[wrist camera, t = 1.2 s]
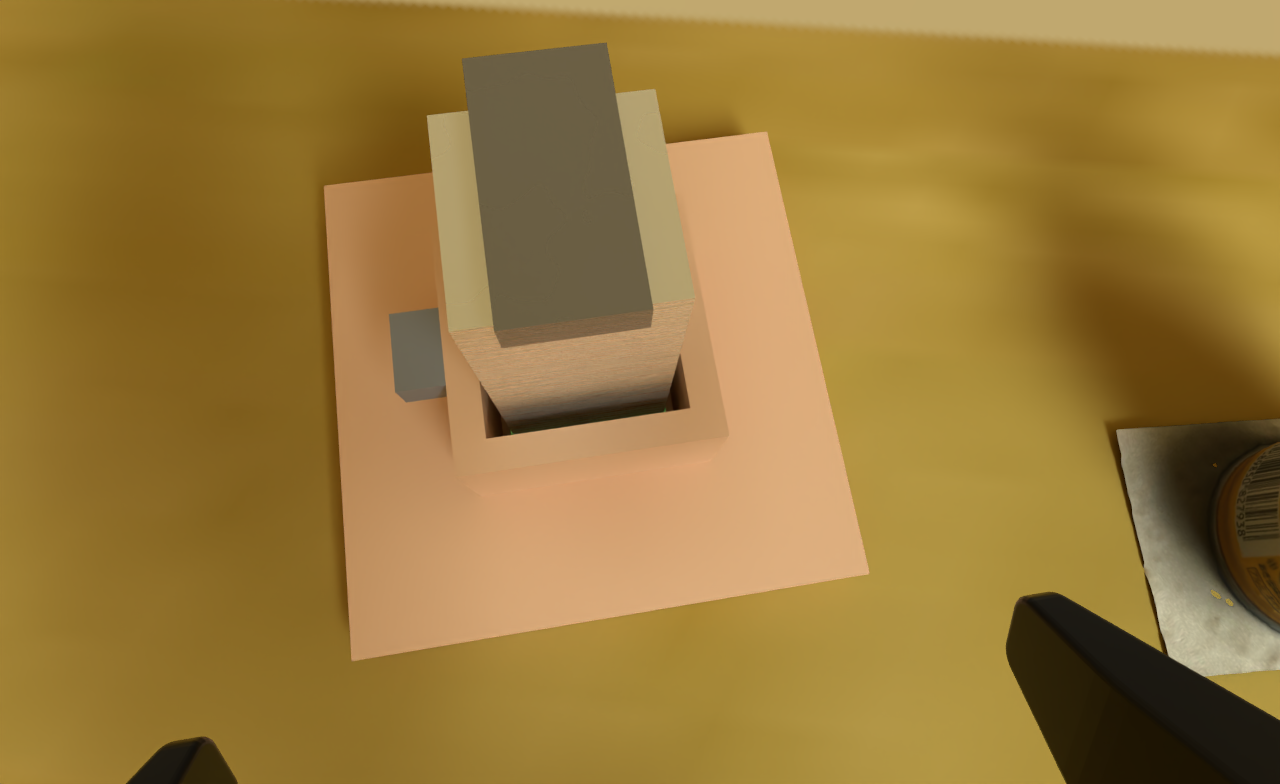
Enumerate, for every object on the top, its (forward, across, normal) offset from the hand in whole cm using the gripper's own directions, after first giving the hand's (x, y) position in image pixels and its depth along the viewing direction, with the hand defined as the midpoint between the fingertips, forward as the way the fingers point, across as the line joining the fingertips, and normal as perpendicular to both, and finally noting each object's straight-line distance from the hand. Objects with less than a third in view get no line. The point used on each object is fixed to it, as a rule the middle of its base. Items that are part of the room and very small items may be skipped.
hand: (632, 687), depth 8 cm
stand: (+15, 0, +4) cm, 15 cm away
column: (+14, 0, +3) cm, 14 cm away
